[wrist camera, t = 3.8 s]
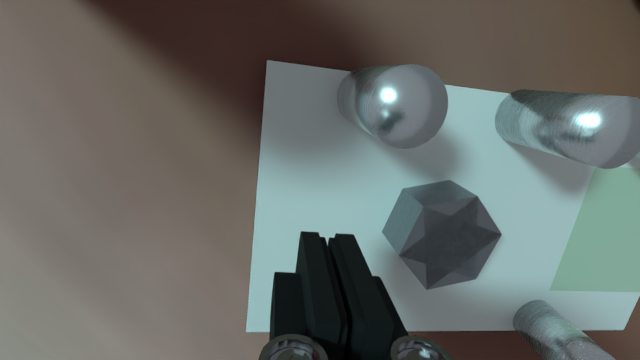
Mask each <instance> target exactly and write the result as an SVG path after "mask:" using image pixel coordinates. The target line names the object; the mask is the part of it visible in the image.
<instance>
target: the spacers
mask: <svg viewBox="0 0 640 360" xmlns="http://www.w3.org/2000/svg"><path fill="white" fill-rule="evenodd" d="M337 102H338V107H339V109H340V112H341V113H342V115H343V116H344V117H345V118H346V119H347V120H348V121H350V122H351V123H353V124H354V125H356V126H358V127H359V128H361V129H363V130H364V131H366V132H368V133H369V134H371V135H373V136H374V137H376V138H378V139H379V140H381V141H383V142H384V143H386V144H388V145H390V146H392V147H395V148H400V149H410V148H415V147H418V146H420V145H422V144H424V143H426V142H428V141H429V140H430V139H431V138H433V137H434V136H435V135H436V133H437V132H438V131H439V130H440V128H441V126H442V125H443V123H444V120H445V118H446V115H447V110H448V95H447V91H446V88H445V85H444V83H443V81H442V80H441V78H440V77H439V76H438V75H437V74H436V73H435V72H434V71H432V70H431V69H429V68H427V67H424V66H421V65H413V64H412V65H393V66H373V67H361V68H357V69H355V70H353V71H351V72H350V73H348V74H347V75H346V76H345V78H344V79H343V80H342V82H341V84H340V86H339V89H338V93H337ZM495 127H496V131H497V133H498V134H499V136H500V137H501V138H502V139H504V140H506V141H508V142H512V143H515V144H519V145H522V146H526V147H529V148H533V149H536V150H539V151H543V152H546V153H550V154H553V155H557V156H560V157H564V158H567V159H571V160H574V161H578V162H581V163H585V164H588V165H591V166H595V167H598V168H602V169H613V168H617V167H620V166H622V165H624V164H626V163H627V162H629V161H630V160H631V159H632V158H634V157H637V158H640V99H638V98H635V97H628V96H613V95H599V94H584V93H569V92H555V91H540V90H525V89H523V90H517V91H515V92H513V93H511V94H509V95H508V96H507V97H506V98H505V99H504V100H503V101H502V102H501V104H500V105H499V107H498V109H497V112H496V115H495ZM513 327H514V329H515V330H516V331H517V333H518V334H519V335H520V336H521V337H522V338H523V339H524V340H525V341H526V342H527V343H528V344H529V345H530V346H531V347H532V348H533V349H534V350H535V351H536V352H537V353H538V354H539V355H540V356H541V357H542V359H543V360H616V359H615V358H613V357H612V356H611V355H610V354H609V353H607V352H606V351H605V350H604V349H603V348H601V347H600V346H599V345H598V344H596V343H595V342H594V341H593V340H592V339H590V338H589V337H588V336H587V335H586V334H584V333H583V332H582V331H581V330H580V329H578V328H577V327H576V326H575V325H573V324H572V323H571V322H570V321H569V320H567V319H566V318H565V317H564V316H563V315H561V314H560V313H559V312H558V311H556V310H555V309H554V308H553V307H552V306H550V305H549V304H548V303H547V302H545V301H543V300H533V301H530V302H528V303H526V304H524V305H523V306H522V307H520V308H519V310H518V311H517V312H516V314H515V316H514V318H513Z"/></svg>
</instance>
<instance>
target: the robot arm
mask: <svg viewBox="0 0 640 360" xmlns="http://www.w3.org/2000/svg"><path fill="white" fill-rule="evenodd" d="M259 360H453V358H452V357H451V356H450V355H449V354H448V353H447V352H446V351H445V350H444V349H443V348H442V347H441V346H439V345H438V344H436V343H435V342H433V341H431V340H429V339H426V338H423V337H419V336H409V335H408V333H407V331H406V329H405V327H404V325H403V323H402V321H401V319H400V316H399V314H398V312H397V310H396V308H395V306H394V304H393V302H392V300H391V298H390V296H389V294H388V292H387V290H386V288H385V285H384V283H383V281H382V280H381V278H380V277H379V276H372V274H371V271H370V269H369V267H368V265H367V263H366V260H365V258H364V256H363V254H362V251H361V249H360V247H359V245H358V243H357V240H356V238H355V236H354V234H339V233H336V234H335V237H334V238H331V237H330V238H329V240H328V246H327V242H326V239H325V237H320V235H319V232H307V231H301V233H300V239H299V247H298V255H297V263H296V271H295V273H291V272H274V279H273V289H272V299H271V313H270V340H269V342H268V343H267V344H266V345H265V346H264V347H263V349H262V351H261V354H260V356H259Z"/></svg>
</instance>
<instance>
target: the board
mask: <svg viewBox="0 0 640 360" xmlns="http://www.w3.org/2000/svg"><path fill="white" fill-rule="evenodd" d="M348 73H350V71H343V70H336V69H329V68H321V67H314V66H307V65H300V64H293V63H286V62H278V61H271V60H267V67H266V80H265V93H264V106H263V119H262V132H261V145H260V158H259V171H258V184H257V197H256V210H255V223H254V236H253V249H252V262H251V275H250V288H249V301H248V314H247V327H246V332H270V313H271V299H272V289H273V279H274V272H291V273H295V271H296V263H297V255H298V247H299V239H300V233H301V231H307V232H319V235H320V237H325V239H326V242H327V246H328V240H329V238H330V237H331V238H334V237H335V234H336V233H339V234H354V236H355V238H356V240H357V243H358V245H359V247H360V249H361V251H362V254H363V256H364V258H365V260H366V263H367V265H368V267H369V269H370V271H371V274H372V276H379V277H380V278H381V280H382V281H383V283H384V285H385V288H386V290H387V292H388V294H389V296H390V298H391V300H392V302H393V304H394V306H395V308H396V310H397V312H398V314H399V316H400V319H401V321H402V323H403V325H404V327H405V329H406V331H516V330H515V329H514V327H513V318H514V316H515V314H516V312H517V311H518V310H519V308H520V307H522V306H523V305H524V304H526V303H528V302H530V301H533V300H543V301H545V302H547V303H548V304H549V305H550V306H552V307H553V308H554V309H555V310H556V311H558V312H559V313H560V314H561V315H563V316H564V317H565V318H566V319H567V320H569V321H570V322H571V323H572V324H573V325H575V326H576V327H577V328H578V329H580V330H624V328H625V326H626V324H627V322H628V319H629V317H630V315H631V313H632V311H633V309H634V307H635V305H636V302H637V300H638V298H639V296H640V158H637V157H634V158H632V159H631V160H630V161H629V162H627V163H626V164H624V165H622V166H620V167H617V168H613V169H602V168H598V167H595V166H591V165H588V164H585V163H581V162H578V161H574V160H571V159H567V158H564V157H560V156H557V155H553V154H550V153H546V152H543V151H539V150H536V149H533V148H529V147H526V146H522V145H519V144H515V143H512V142H508V141H506V140H504V139H502V138H501V137H500V136H499V134H498V133H497V131H496V127H495V115H496V112H497V109H498V107H499V105H500V104H501V102H502V101H503V100H504V99H505V98H506V97H507V96H508V95H509V94H508V93H501V92H494V91H486V90H479V89H472V88H465V87H458V86H450V85H445V88H446V91H447V95H448V110H447V115H446V118H445V120H444V123H443V125H442V126H441V128H440V130H439V131H438V132H437V133H436V135H435V136H434V137H433V138H431V139H430V140H429V141H428V142H426V143H424V144H422V145H420V146H418V147H415V148H410V149H400V148H395V147H392V146H390V145H388V144H386V143H384V142H383V141H381V140H379V139H378V138H376V137H374V136H373V135H371V134H369V133H368V132H366V131H364V130H363V129H361V128H359V127H358V126H356V125H354V124H353V123H351V122H350V121H348V120H347V119H346V118H345V117H344V116H343V115H342V113H341V112H340V109H339V107H338V102H337V93H338V89H339V86H340V84H341V82H342V80H343V79H344V78H345V76H346V75H347V74H348ZM446 180H451V181H453V182H455V183H456V184H458V185H460V186H461V187H463V188H465V189H466V190H468V191H470V192H472V193H473V194H475V195H477V196H478V197H479V199H480V200H481V202H482V204H483V205H484V207H485V208H486V210H487V212H488V213H489V215H490V216H491V218H492V219H493V221H494V223H495V224H496V226H497V227H498V229H499V230H500V232H501V234H502V235H501V237H500V239H499V241H498V242H497V244H496V246H495V247H494V249H493V251H492V253H491V254H490V256H489V258H488V259H487V261H486V263H485V265H484V266H483V268H482V270H481V272H480V273H479V275H478V277H477V278H476V279H475V280H471V281H466V282H461V283H457V284H452V285H447V286H443V287H438V288H434V289H429V290H426V289H425V288H424V286H423V285H422V284H421V283H420V281H419V280H418V279H417V278H416V276H415V275H414V274H413V273H412V271H411V270H410V269H409V268H408V267H407V265H406V264H405V263H404V262H403V260H402V259H401V258H400V257H399V255H398V254H397V253H396V251H395V250H394V248H393V247H392V246H391V244H390V243H389V241H388V240H387V239H386V237H385V236H384V234H383V233H382V230H383V228H384V226H385V224H386V222H387V220H388V218H389V216H390V214H391V212H392V209H393V207H394V205H395V203H396V201H397V199H398V197H399V195H400V193H401V191H402V189H403V188H408V187H414V186H419V185H424V184H430V183H435V182H441V181H446Z"/></svg>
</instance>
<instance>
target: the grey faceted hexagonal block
mask: <svg viewBox="0 0 640 360" xmlns="http://www.w3.org/2000/svg"><path fill="white" fill-rule="evenodd" d="M382 233H383V234H384V236H385V237H386V239H387V240H388V241H389V243H390V244H391V246H392V247H393V248H394V250H395V251H396V253H397V254H398V255H399V257H400V258H401V259H402V260H403V262H404V263H405V264H406V265H407V267H408V268H409V269H410V270H411V271H412V273H413V274H414V275H415V276H416V278H417V279H418V280H419V281H420V283H421V284H422V285H423V286H424V288H425V289H426V290H429V289H434V288H438V287H443V286H447V285H452V284H457V283H461V282H466V281H471V280H475V279H476V278H477V277H478V275H479V273H480V272H481V270H482V268H483V266H484V265H485V263H486V261H487V259H488V258H489V256H490V254H491V253H492V251H493V249H494V247H495V246H496V244H497V242H498V241H499V239H500V237H501V235H502V234H501V232H500V230H499V229H498V227H497V226H496V224H495V223H494V221H493V219H492V218H491V216H490V215H489V213H488V212H487V210H486V208H485V207H484V205H483V204H482V202H481V200H480V199H479V197H478V196H477V195H475V194H473V193H472V192H470V191H468V190H466V189H465V188H463V187H461V186H460V185H458V184H456V183H455V182H453V181H451V180H446V181H441V182H435V183H430V184H424V185H419V186H414V187H408V188H403V189H402V191H401V193H400V195H399V197H398V199H397V201H396V203H395V205H394V207H393V209H392V212H391V214H390V216H389V218H388V220H387V222H386V224H385V226H384V228H383V230H382Z"/></svg>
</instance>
